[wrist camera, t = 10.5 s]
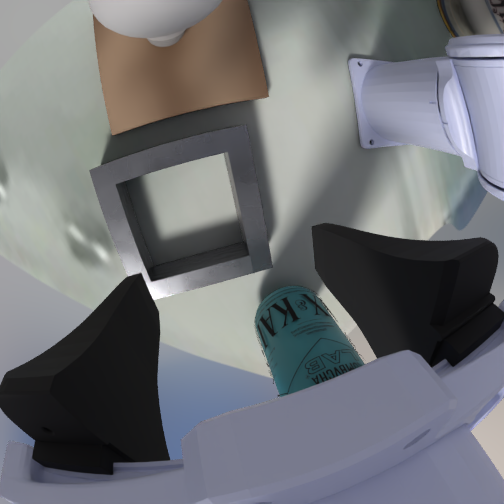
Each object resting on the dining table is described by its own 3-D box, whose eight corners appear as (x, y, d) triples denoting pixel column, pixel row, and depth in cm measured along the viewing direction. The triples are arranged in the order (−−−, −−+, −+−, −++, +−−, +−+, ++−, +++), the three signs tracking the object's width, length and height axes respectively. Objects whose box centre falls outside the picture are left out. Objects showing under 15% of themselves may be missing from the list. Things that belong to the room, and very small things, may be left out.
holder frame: (239, 125, 18) (246, 124, 16) (264, 253, 23) (272, 267, 21) (100, 165, 17) (89, 170, 15) (144, 286, 22) (140, 303, 20)
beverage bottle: (318, 313, 27) (426, 478, 10) (259, 339, 27) (333, 526, 9) (305, 262, 24) (454, 458, 7) (236, 292, 24) (323, 530, 6)
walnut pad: (238, -20, 13) (240, -26, 12) (265, 98, 18) (268, 96, 17) (96, 12, 11) (92, 8, 10) (115, 135, 16) (112, 135, 15)
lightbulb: (117, 16, 11) (71, -68, 2) (202, -6, 12) (230, -103, 2) (130, 85, 14) (69, 32, 4) (219, 61, 15) (265, -16, 5)
